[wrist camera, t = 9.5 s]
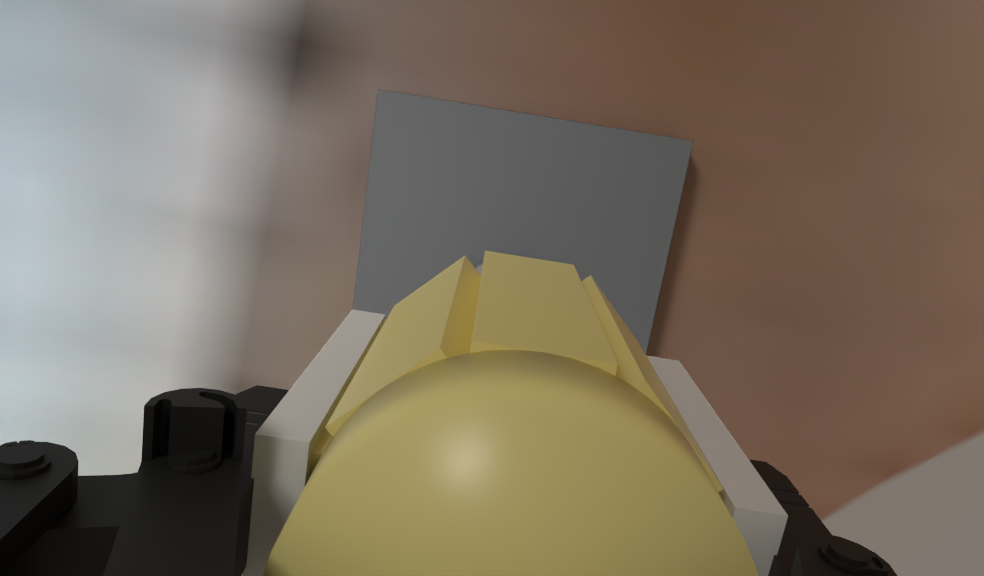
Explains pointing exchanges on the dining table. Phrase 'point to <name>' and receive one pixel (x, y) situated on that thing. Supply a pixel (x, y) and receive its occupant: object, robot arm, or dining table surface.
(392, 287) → the grey plate with rod
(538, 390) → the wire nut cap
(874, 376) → the dining table surface
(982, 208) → the dining table surface
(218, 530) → the robot arm
